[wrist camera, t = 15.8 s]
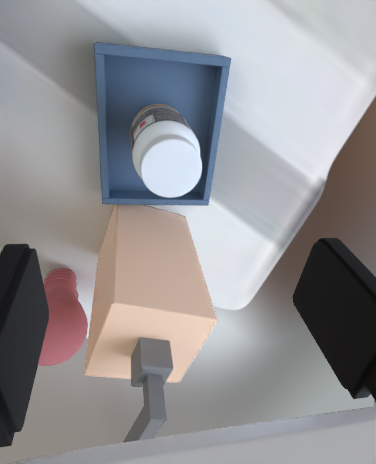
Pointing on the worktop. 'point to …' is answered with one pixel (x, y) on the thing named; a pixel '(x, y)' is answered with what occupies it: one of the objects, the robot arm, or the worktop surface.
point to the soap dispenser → (147, 307)
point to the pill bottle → (165, 151)
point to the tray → (148, 93)
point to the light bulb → (62, 319)
